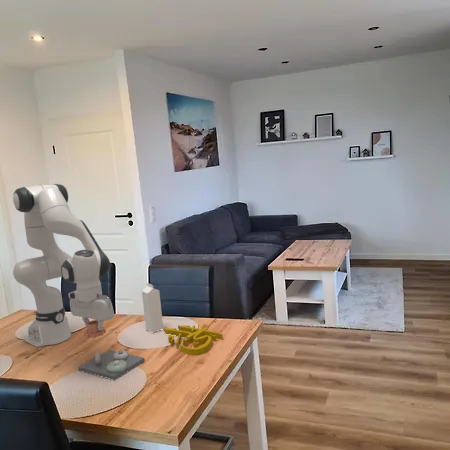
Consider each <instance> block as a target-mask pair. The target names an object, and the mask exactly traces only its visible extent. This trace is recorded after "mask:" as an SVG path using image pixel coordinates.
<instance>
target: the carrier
mask: <svg viewBox="0 0 450 450" xmlns="http://www.w3.org/2000/svg"><path fill="white" fill-rule="evenodd" d="M145 360H146V359H145V357H142V356H138V355H134V354H129V353H128V351H126V350H118V351H117V350H111V349H109V350H107V351H105V352H104V353H101V354H100V352H96V353H94V358H92V359H90V360H89V361H86V362H85V363H83V364H81V365H79V366H77V368H78V371H79V372H82V371H84V372H83V373H86V372H88V373H87V374H90V373H92V374H91V375H93V374H96V375H95V376H97V375H99V376H98V377H100V376H103V377H102V378H104V377H107V378H106V379H108V378H110V379H109V380H111V379H113V380H112V381H115V379H116V380H117V379H119V378H120V377H122V376H124V375H125V374H127V373H128V372H127V371H129V370H130V371H132V370H134V369H135V368H137V367H138V366H140V365H142V364H143V363H145V362H146V361H145ZM131 369H132V370H131ZM130 371H129V372H130ZM126 372H127V373H126ZM124 373H125V374H124ZM123 374H124V375H123ZM121 375H122V376H121ZM118 377H119V378H118Z"/></svg>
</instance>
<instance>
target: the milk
mask: <svg viewBox="0 0 450 450" xmlns="http://www.w3.org/2000/svg"><path fill="white" fill-rule="evenodd" d="M160 293H161V292H160V290H159V289H156V288H155V287H154V285H153V284H151V283H149V282H147V283H146V287H145V288H143V289H142V291H141V294H142V295H141V297H142V305H143V312H144V313H143V315H144V323H145V330H146V329H147V330H148V331H150V332H155V331H157V330H160V329H163V330H164V323H163V314H162V313H163V312H162V304H161V294H160ZM147 330H146V331H147ZM148 331H147V332H148ZM150 332H149V333H150ZM155 333H156V332H155Z"/></svg>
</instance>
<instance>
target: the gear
mask: <svg viewBox="0 0 450 450" xmlns="http://www.w3.org/2000/svg"><path fill="white" fill-rule="evenodd" d="M89 321H90V320H89ZM97 325H98V322H97V319H93V320H91V321H90V322H88V323H87V328H86V329H85V331H83V337H85V339H89V338H91V339H96V338H98V337H102V336H104V334H106V332H107V331H106V329H107V328H104V326H103V329H102V330H97V328H96V326H97Z"/></svg>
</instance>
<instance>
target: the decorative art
mask: <svg viewBox="0 0 450 450" xmlns="http://www.w3.org/2000/svg"><path fill="white" fill-rule="evenodd" d="M178 329H179V330H178ZM163 331H164V332H165V333H166V334H171V335H176V336H171V335H167V337H168V339H167V340H168V343H169V344H170V347H171V348H173V346H175V347H176V348H175V349H177V350H178V349H180V352H181V353H183V354H186V355H188V356H201V355H204V354H205V353H207V352H208V351H209V350H210V349H211V348H212V346H213V342H217V340H221V341H223V340H224V338H223V337H224V336H223V334H222V333H221V332H219V331H214V330H210V329H208V328H207V327H205V326H204V327H202V328H197V327H196V324H195V325H194V324H193V326H192V327H191V326H190V325H179V324H178V325H177V328H174V327H163ZM164 332H163V333H164ZM165 333H164V334H165ZM166 334H165V335H166ZM177 336H178V337H177ZM175 337H176V341H175ZM183 337H186V338H183ZM182 338H183V339H182ZM181 341H182V342H183V343H182V344H183V345H182V344H181ZM191 343H192V344H193V347H188V345H189V344H191ZM179 346H180V347H179Z"/></svg>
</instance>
